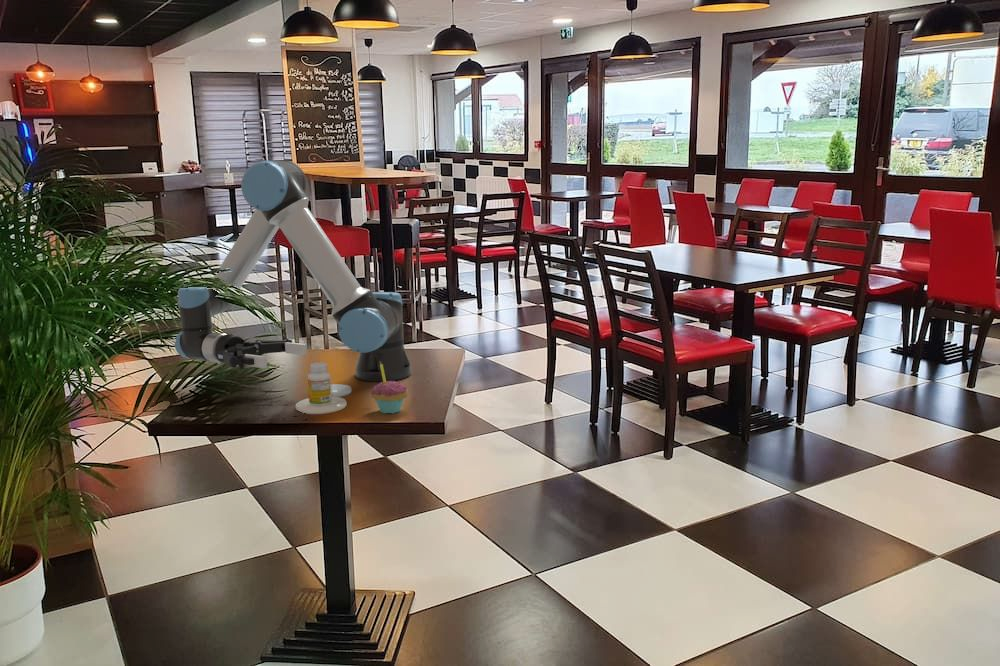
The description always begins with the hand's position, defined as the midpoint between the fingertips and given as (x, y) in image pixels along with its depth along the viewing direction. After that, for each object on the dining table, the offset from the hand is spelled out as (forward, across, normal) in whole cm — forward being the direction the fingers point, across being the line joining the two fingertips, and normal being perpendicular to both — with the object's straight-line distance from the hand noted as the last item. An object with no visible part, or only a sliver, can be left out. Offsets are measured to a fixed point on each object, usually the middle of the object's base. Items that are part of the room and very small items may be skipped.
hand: (286, 355), depth 198 cm
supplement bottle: (+10, 0, -11) cm, 15 cm away
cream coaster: (+10, 0, -12) cm, 15 cm away
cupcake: (+27, -5, -12) cm, 30 cm away
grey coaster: (+4, -10, -12) cm, 16 cm away
